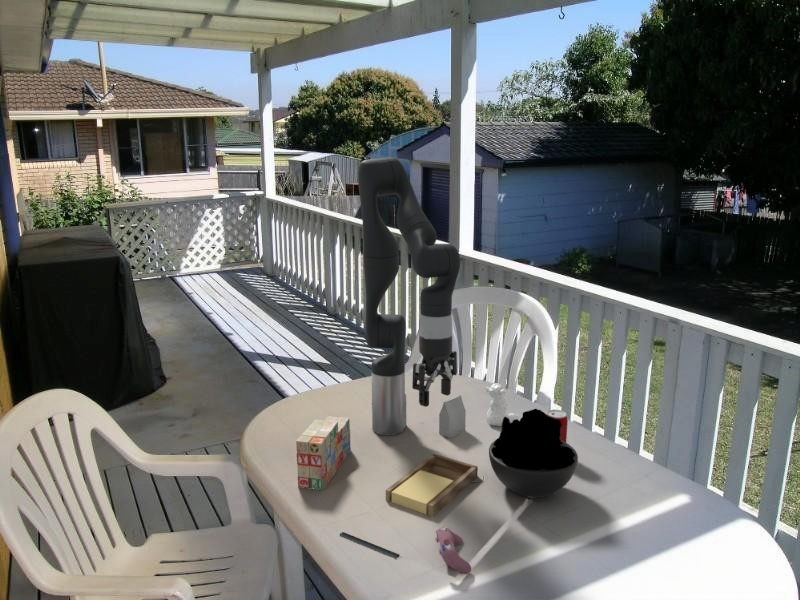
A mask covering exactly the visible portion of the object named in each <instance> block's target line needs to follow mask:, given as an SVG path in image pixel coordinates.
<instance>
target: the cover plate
mask: <svg viewBox="0 0 800 600" xmlns="http://www.w3.org/2000/svg"><path fill="white" fill-rule="evenodd" d="M452 484H453V480H450V479H447V478H444V477H441V476H438V475H434V474H431V473H428V472H425V471H422V470H420V471H418V472H417V473H416V474H414V475H413V476H412V477H410V478H409V479H408V480H407V481H405V482H404V483H403V484H401V485H400V486H399V487H397V488H396V489H395V490H394V491H392V502H393V504H395V503H396V504H395V505H398V506H401V507H403V506H404V508H406V507H407V509H409V508H410V510H412V509H413V510H412V511H416V512H417V513H420V512H421V514H423V513H424V514H423V515H426V514H427V513H428V512H429V504H430V503H431V502H432V501H433V500H435V499H436V498H437V497H438V496H439V495H440V494H442V493H443V492H444V491H445V490H446V489H447V488H448V487H450V486H451V485H452ZM392 502H391V503H392Z"/></svg>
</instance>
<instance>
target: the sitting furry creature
mask: <svg viewBox="0 0 800 600" xmlns="http://www.w3.org/2000/svg"><path fill="white" fill-rule="evenodd" d="M485 390H486V392H487V393H489V394H488V395H489V396H490V397H491V398H492V399H491V401H490V402H489V408H488V410H487V413H486V421H487V423H488V424H489V425H490V426H493V427H502V421H503V418H504V417H507V418H509V420H510V423H512V422H513V420H516V419H517V420H519V421H520V416H519V415H518V414H515V413H513V412H511V413H509V414H507V408H508V403H506V400H505V396H506V392H507V391H505V388H504V387H503V386H502V384H501V383H493V384H491V386H485Z"/></svg>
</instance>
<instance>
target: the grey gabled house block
mask: <svg viewBox="0 0 800 600" xmlns="http://www.w3.org/2000/svg"><path fill="white" fill-rule="evenodd" d="M466 413H467V411H466V408H465V405H464V402H463V398H462V395H457V396H455V397H453V398H450V399H448V400H445V401H443V404H442V406H441V409H440V411H439V414H438V415H439V418H438V419H439V420H438V423H439V424H438V425H439V426H438V434H439V435H441V436H443V437H446V438H448V439H450V438H451V437H454V436H456V435H459V434H461V433H462V432H465V431H466V415H467V414H466Z"/></svg>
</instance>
